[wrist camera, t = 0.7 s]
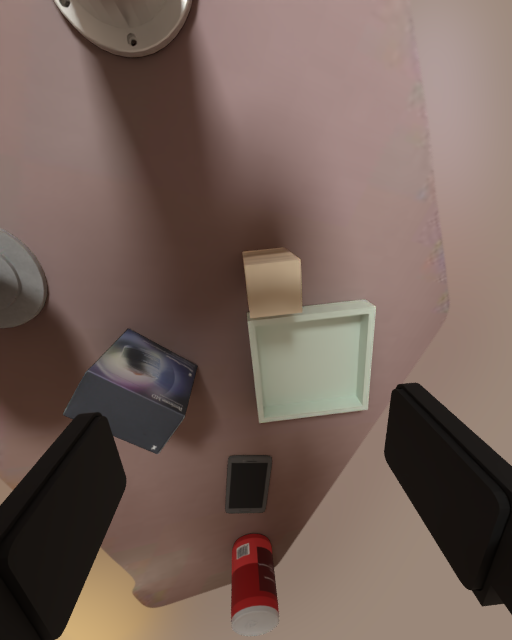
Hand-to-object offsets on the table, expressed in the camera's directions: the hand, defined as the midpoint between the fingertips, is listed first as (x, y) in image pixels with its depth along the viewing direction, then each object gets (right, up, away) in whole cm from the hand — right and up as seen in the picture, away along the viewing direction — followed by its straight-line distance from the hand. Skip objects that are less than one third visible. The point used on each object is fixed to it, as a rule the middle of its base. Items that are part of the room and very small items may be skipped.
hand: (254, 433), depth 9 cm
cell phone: (-1, -25, +38) cm, 45 cm away
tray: (+7, -2, +29) cm, 30 cm away
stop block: (+1, +10, +24) cm, 26 cm away
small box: (-14, -2, +28) cm, 31 cm away
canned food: (-1, -41, +44) cm, 60 cm away
